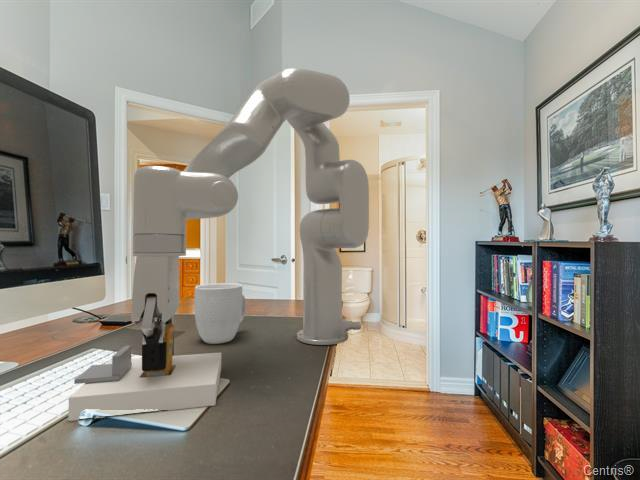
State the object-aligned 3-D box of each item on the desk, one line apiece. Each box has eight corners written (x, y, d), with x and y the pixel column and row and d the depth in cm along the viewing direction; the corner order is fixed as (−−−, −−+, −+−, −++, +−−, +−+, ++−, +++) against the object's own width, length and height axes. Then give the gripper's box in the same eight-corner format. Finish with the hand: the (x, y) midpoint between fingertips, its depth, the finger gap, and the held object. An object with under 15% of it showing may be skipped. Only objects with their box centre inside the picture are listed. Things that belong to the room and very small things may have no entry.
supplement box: (168, 393, 49) (169, 327, 49) (143, 395, 49) (145, 329, 49) (173, 384, 53) (174, 322, 53) (150, 386, 52) (151, 323, 52)
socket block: (221, 368, 59) (221, 352, 59) (215, 405, 46) (215, 384, 46) (111, 377, 55) (111, 360, 55) (68, 421, 41) (68, 397, 41)
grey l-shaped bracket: (131, 366, 52) (132, 344, 52) (119, 380, 47) (119, 356, 47) (92, 369, 51) (92, 347, 51) (74, 383, 45) (74, 359, 45)
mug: (228, 328, 88) (228, 280, 89) (261, 333, 83) (261, 282, 84) (183, 343, 75) (184, 286, 75) (219, 350, 70) (219, 289, 70)
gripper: (149, 246, 58) (147, 348, 58) (112, 246, 42) (110, 389, 41) (193, 246, 60) (192, 345, 60) (175, 247, 43) (173, 383, 43)
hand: (158, 362), depth 50 cm, fingers open, 4 cm apart
